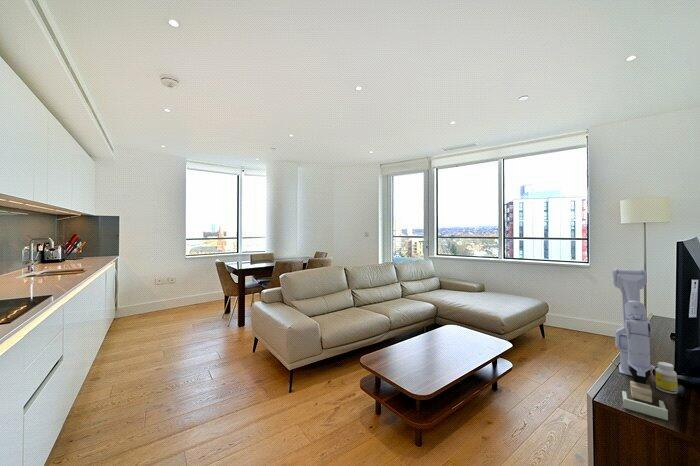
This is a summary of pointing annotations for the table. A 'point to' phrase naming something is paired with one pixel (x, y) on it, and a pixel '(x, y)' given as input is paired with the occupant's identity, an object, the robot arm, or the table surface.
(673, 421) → the table surface
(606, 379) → the table surface
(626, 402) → the dock
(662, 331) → the table surface
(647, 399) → the birch block
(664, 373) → the supplement bottle
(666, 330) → the table surface
